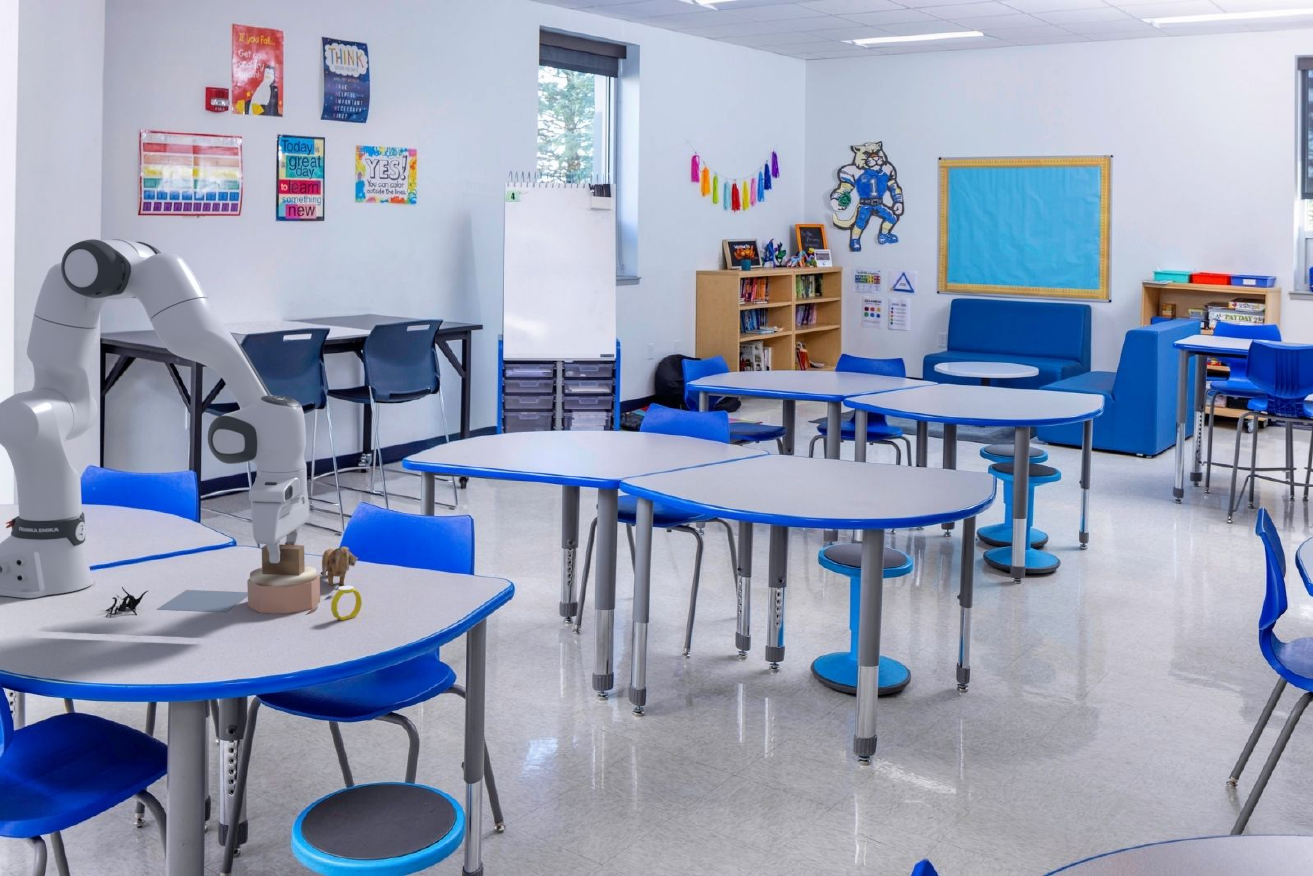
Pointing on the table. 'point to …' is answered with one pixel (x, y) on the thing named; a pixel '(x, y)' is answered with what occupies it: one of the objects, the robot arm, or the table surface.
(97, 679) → the table surface
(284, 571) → the lid
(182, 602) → the mat
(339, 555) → the lion figurine
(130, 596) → the creature
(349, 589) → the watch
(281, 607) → the octagonal planter
